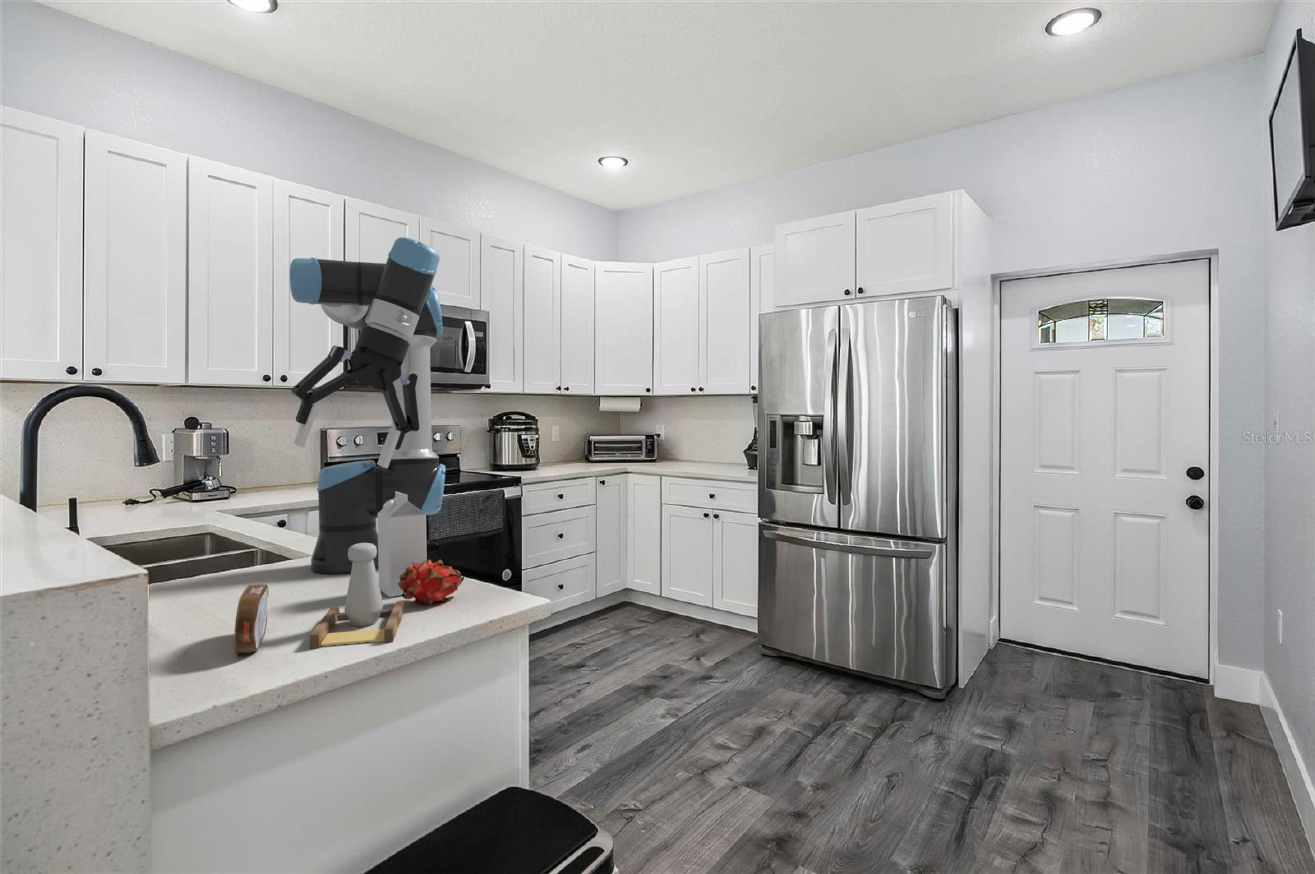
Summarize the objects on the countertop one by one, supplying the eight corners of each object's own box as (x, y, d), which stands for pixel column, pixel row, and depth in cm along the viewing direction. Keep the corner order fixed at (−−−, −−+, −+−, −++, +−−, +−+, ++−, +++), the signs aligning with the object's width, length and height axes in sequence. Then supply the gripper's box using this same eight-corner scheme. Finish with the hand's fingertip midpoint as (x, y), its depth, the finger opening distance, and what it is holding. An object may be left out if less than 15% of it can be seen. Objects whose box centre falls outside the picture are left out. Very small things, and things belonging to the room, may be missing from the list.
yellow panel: (327, 635, 104) (327, 633, 104) (388, 630, 106) (388, 628, 106) (320, 646, 99) (320, 644, 99) (384, 641, 101) (384, 638, 101)
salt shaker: (369, 630, 107) (366, 550, 106) (337, 626, 108) (334, 548, 107) (390, 616, 113) (388, 541, 111) (360, 613, 114) (357, 538, 112)
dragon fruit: (392, 615, 120) (458, 613, 126) (405, 596, 114) (474, 595, 121) (391, 571, 124) (455, 572, 131) (403, 550, 118) (470, 552, 125)
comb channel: (331, 618, 113) (331, 606, 113) (403, 612, 116) (403, 601, 116) (310, 648, 98) (309, 635, 98) (393, 641, 101) (392, 628, 101)
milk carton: (415, 584, 135) (413, 490, 134) (427, 591, 129) (425, 493, 128) (378, 590, 130) (376, 492, 130) (389, 598, 125) (387, 496, 124)
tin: (249, 630, 107) (247, 578, 106) (271, 628, 108) (270, 576, 108) (232, 663, 93) (230, 603, 93) (258, 660, 94) (257, 600, 94)
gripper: (317, 302, 98) (265, 440, 96) (464, 361, 115) (422, 478, 114) (301, 300, 103) (252, 430, 102) (444, 357, 121) (404, 469, 119)
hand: (342, 456), depth 108 cm, fingers open, 13 cm apart
